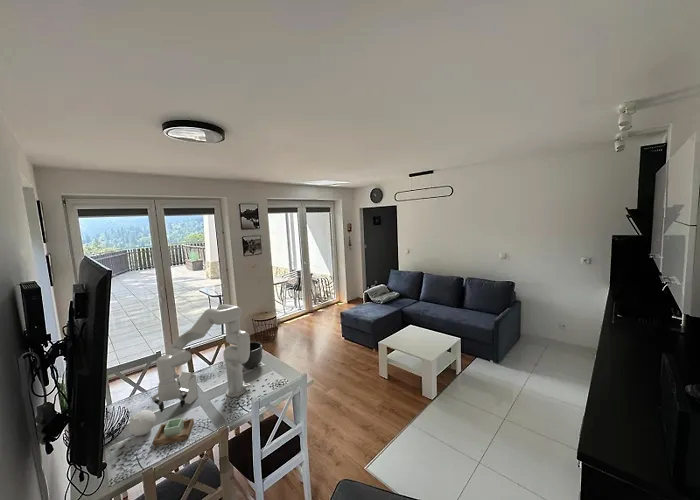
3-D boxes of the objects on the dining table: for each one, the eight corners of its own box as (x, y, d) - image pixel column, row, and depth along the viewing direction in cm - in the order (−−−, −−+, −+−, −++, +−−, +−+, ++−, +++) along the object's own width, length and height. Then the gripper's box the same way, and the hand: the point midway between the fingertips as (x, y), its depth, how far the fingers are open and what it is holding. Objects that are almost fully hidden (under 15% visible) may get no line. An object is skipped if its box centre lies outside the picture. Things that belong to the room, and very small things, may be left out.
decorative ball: (125, 438, 153) (121, 417, 152) (147, 422, 164) (144, 403, 163) (140, 443, 149) (137, 422, 147) (162, 427, 160) (159, 407, 159)
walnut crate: (194, 423, 162) (193, 418, 162) (188, 439, 151) (187, 433, 150) (162, 429, 158) (161, 424, 158) (153, 446, 147) (152, 441, 146)
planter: (268, 362, 225) (266, 343, 223) (252, 374, 210) (250, 353, 208) (251, 359, 232) (249, 340, 230) (234, 369, 217) (233, 350, 215)
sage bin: (184, 427, 159) (182, 417, 158) (180, 436, 152) (178, 426, 151) (169, 430, 157) (168, 420, 156) (165, 439, 150) (163, 429, 149)
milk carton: (190, 404, 179) (187, 375, 176) (180, 403, 180) (177, 375, 178) (198, 397, 186) (195, 369, 183) (189, 395, 187) (185, 368, 185)
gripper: (188, 371, 156) (192, 400, 159) (151, 378, 152) (157, 407, 154) (184, 379, 149) (188, 409, 152) (146, 386, 144) (151, 416, 147)
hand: (172, 408), depth 153 cm, fingers open, 9 cm apart
